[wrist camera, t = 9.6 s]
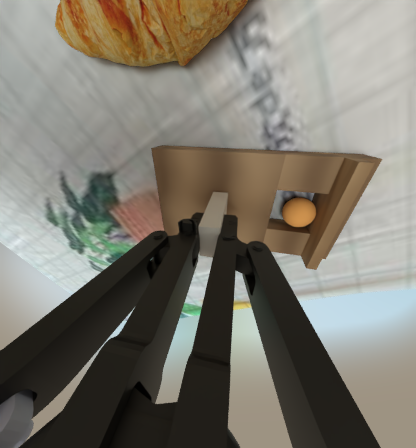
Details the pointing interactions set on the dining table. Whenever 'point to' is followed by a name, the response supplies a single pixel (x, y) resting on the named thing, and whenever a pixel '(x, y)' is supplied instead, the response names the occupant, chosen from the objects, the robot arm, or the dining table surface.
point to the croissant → (144, 28)
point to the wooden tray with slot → (264, 192)
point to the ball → (299, 212)
